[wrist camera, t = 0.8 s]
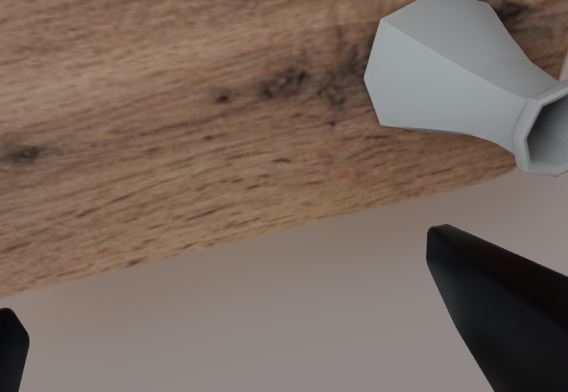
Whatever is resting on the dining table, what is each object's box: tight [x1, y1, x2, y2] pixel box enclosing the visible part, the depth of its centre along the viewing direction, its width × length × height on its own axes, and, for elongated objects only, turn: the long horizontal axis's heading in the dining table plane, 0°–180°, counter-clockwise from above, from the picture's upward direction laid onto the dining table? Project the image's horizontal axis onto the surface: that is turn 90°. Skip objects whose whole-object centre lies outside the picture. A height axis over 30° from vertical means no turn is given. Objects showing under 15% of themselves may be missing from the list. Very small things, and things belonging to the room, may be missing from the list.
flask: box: [364, 0, 568, 177], centre depth 17 cm, size 7×7×10 cm
